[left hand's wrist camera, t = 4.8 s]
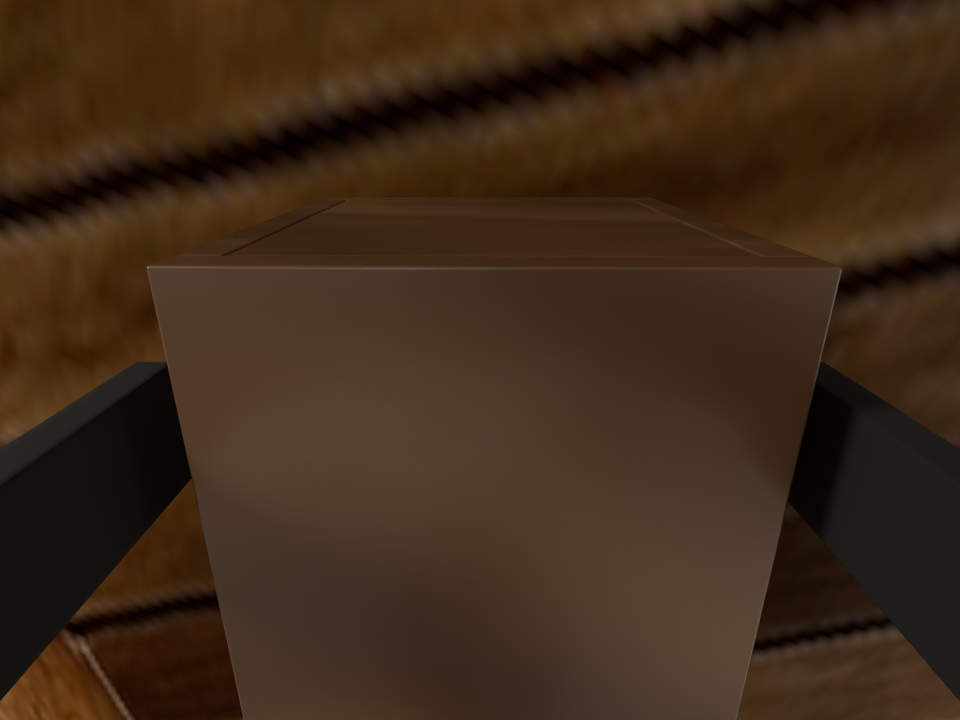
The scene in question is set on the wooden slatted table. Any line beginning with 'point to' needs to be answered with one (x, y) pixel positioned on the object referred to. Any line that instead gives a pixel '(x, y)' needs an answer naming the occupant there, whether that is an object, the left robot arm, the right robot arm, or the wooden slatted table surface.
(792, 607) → the wooden slatted table surface
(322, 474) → the cabinet
